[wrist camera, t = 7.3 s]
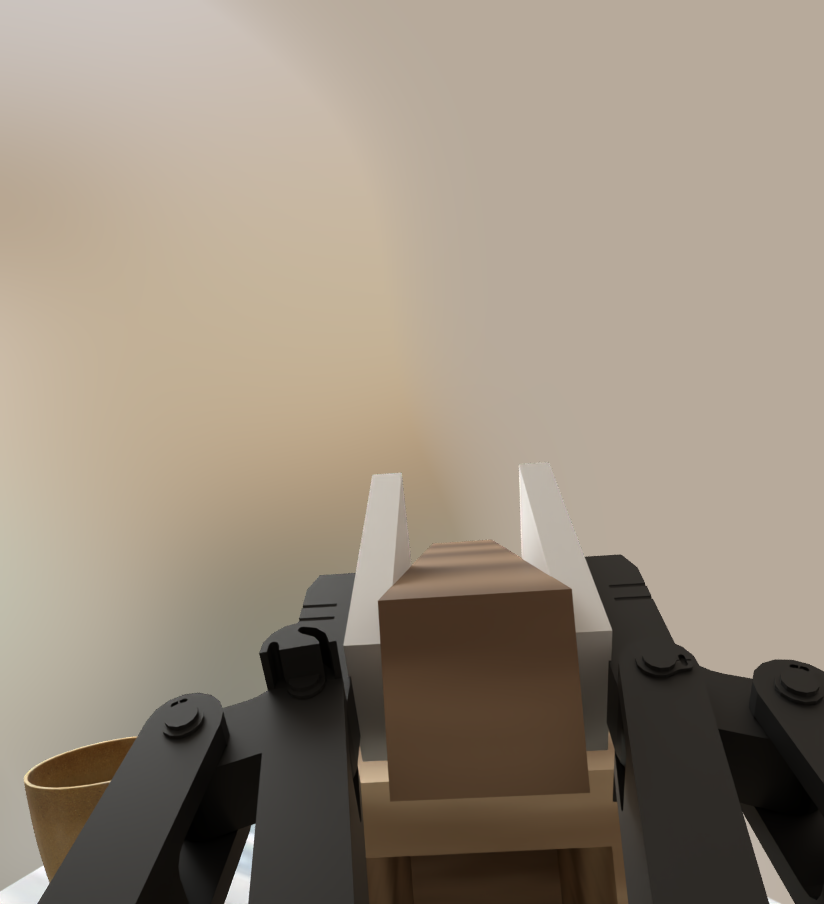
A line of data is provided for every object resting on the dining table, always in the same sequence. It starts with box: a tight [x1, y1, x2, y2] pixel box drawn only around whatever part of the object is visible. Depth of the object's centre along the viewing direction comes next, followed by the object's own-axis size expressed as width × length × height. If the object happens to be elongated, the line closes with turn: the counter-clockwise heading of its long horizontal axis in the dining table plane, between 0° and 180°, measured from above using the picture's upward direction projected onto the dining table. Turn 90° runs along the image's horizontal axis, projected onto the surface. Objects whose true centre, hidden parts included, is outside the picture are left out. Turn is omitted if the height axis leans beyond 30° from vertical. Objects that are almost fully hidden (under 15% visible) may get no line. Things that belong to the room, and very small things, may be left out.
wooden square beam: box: [378, 540, 590, 802], centre depth 22 cm, size 24×3×3 cm, turn 176°
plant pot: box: [24, 736, 137, 882], centre depth 68 cm, size 15×15×16 cm
